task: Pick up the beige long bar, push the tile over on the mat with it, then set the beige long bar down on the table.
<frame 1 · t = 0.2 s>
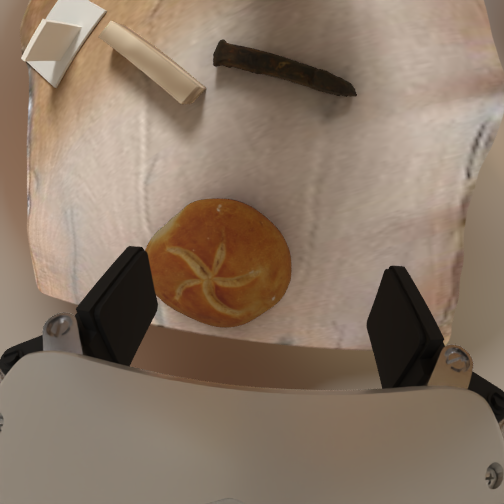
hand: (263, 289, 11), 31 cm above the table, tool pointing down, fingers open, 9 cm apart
tile: (68, 42, 28), point 1 cm above the table, touching mat
beige long bar: (157, 60, 31), on the table
bread: (219, 253, 47), on the table
rusty brown spike: (287, 68, 31), on the table
mat: (60, 35, 27), on the table
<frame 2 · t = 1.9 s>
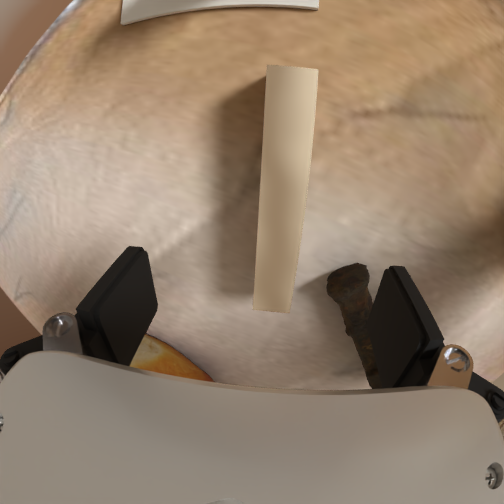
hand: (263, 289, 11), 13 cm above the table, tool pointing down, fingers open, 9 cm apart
beige long bar: (283, 184, 22), on the table
bread: (151, 366, 38), on the table
rusty brown spike: (368, 325, 29), on the table
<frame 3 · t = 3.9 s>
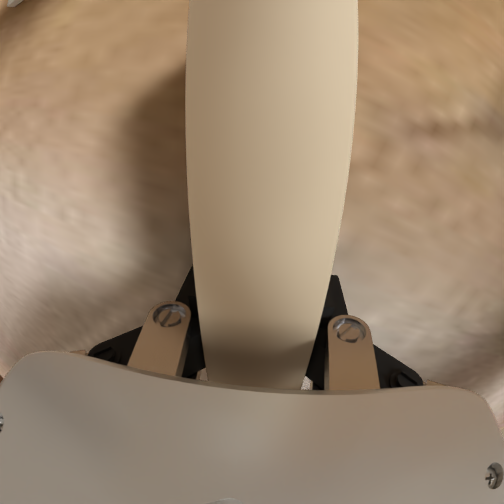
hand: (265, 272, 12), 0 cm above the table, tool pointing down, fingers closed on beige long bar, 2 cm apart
beige long bar: (266, 265, 12), on the table, touching gripper
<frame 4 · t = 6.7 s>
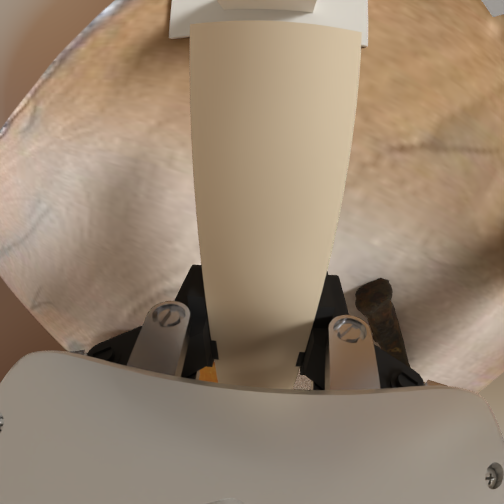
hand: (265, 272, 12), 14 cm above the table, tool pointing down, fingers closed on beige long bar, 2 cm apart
tile: (268, 2, 15), point 1 cm above the table, touching mat
beige long bar: (267, 261, 13), point 12 cm above the table, tilted 6°, touching gripper
rusty brown spike: (391, 329, 31), on the table
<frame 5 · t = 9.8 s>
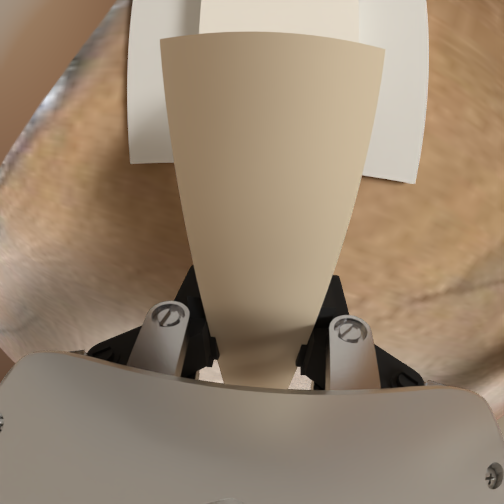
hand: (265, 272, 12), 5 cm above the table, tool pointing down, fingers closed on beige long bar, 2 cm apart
tile: (276, 88, 11), point 1 cm above the table, tilted 90°, touching mat
beige long bar: (267, 250, 13), point 4 cm above the table, tilted 16°, touching gripper
mat: (279, 37, 11), on the table
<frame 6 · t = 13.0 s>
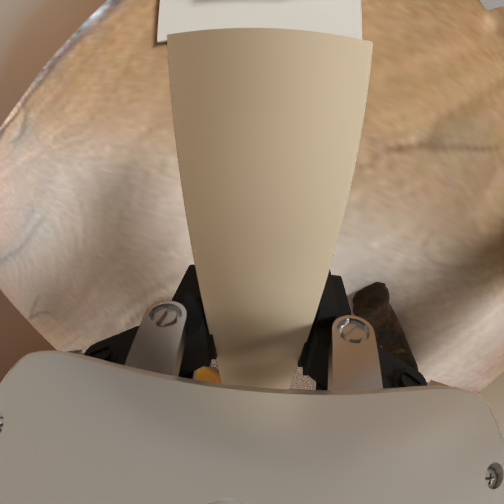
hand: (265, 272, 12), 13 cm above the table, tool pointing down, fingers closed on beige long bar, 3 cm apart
beige long bar: (266, 253, 13), point 11 cm above the table, tilted 13°, touching gripper
bread: (178, 380, 39), on the table
rusty brown spike: (395, 330, 30), on the table
when the fingers open (2 cm above the table, at t = 15.8 s): beige long bar drops 1 cm, on the table.
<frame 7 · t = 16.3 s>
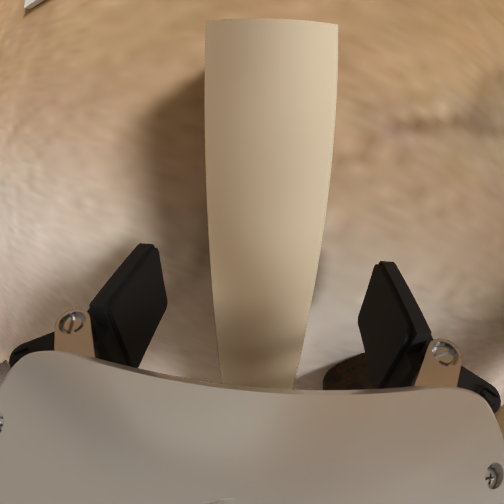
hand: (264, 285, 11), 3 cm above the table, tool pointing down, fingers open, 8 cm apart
beige long bar: (267, 254, 13), on the table
rusty brown spike: (391, 399, 20), on the table
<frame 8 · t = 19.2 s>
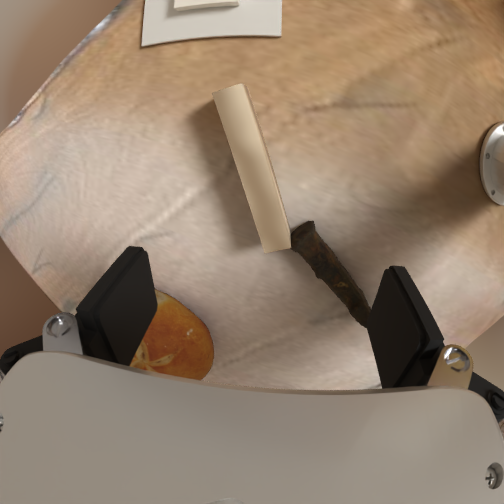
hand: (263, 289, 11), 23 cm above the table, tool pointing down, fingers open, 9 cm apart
tile: (206, 5, 20), point 1 cm above the table, tilted 90°, touching mat
beige long bar: (258, 163, 31), on the table
bread: (155, 322, 46), on the table
rusty brown spike: (341, 270, 37), on the table
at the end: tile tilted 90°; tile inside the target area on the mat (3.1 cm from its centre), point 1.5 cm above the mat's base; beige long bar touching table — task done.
